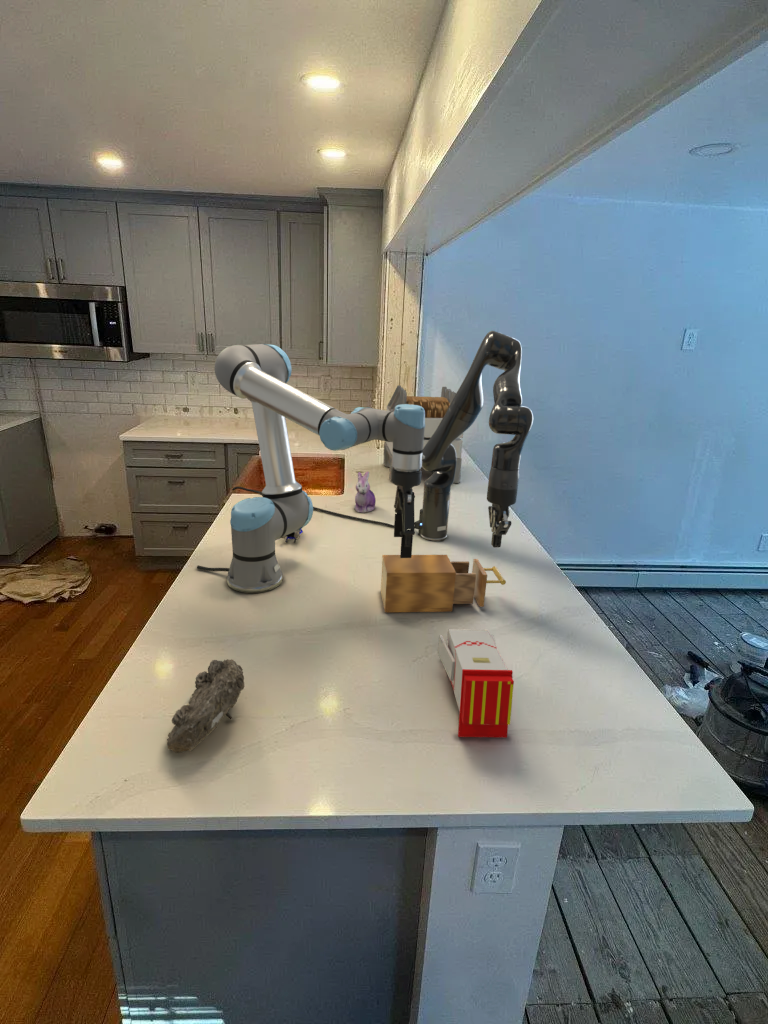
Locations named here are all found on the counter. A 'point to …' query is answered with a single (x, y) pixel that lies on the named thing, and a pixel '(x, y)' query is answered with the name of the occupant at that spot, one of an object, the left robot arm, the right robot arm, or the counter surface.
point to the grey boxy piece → (433, 417)
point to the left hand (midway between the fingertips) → (402, 546)
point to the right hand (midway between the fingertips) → (495, 546)
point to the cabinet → (417, 583)
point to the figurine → (364, 494)
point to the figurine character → (293, 535)
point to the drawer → (472, 582)
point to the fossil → (206, 705)
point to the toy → (478, 682)
